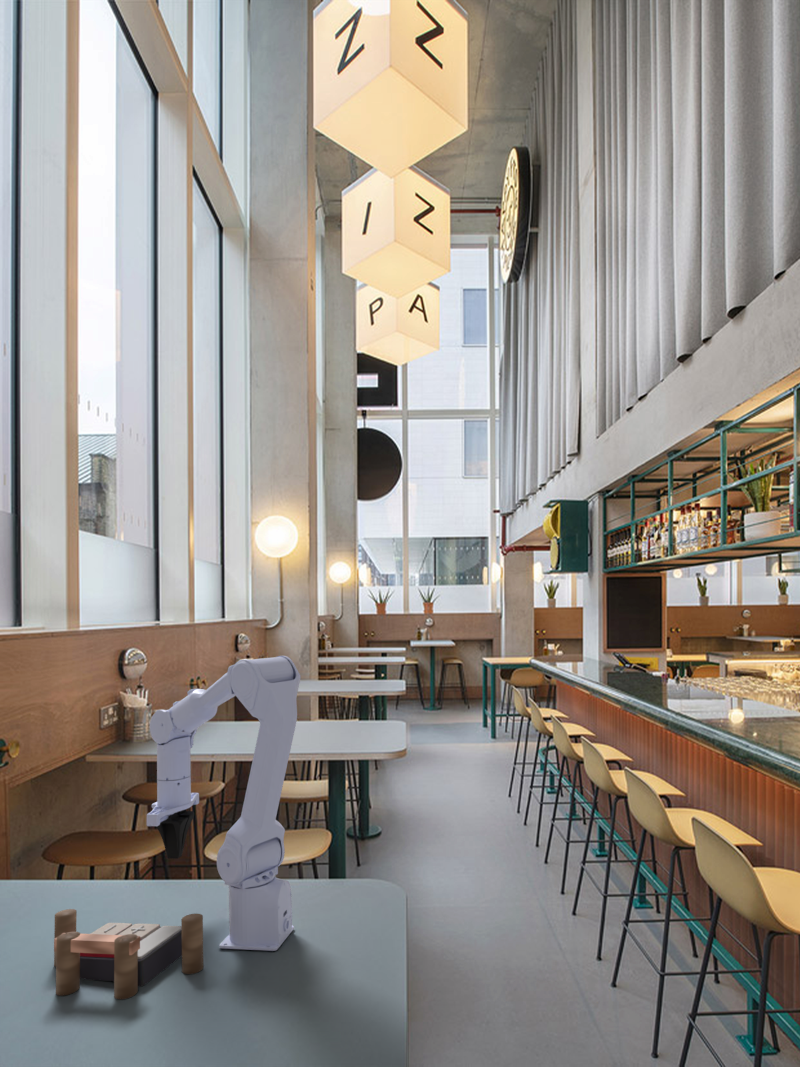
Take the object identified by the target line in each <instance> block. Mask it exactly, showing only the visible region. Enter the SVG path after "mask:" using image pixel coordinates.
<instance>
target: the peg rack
mask: <svg viewBox="0 0 800 1067" xmlns="http://www.w3.org/2000/svg"><path fill="white" fill-rule="evenodd" d="M77 916H78V914H77V909H75V908H69V909H63V910H60V911H57V912H56V913H55V914H54V933H53V934H54V937H53V939H54V940H53V959H54V960H53V966H54V967H55V995H56V996H61V997H64V996H68V995H72V994H74V993H76V992H77V991H79V990H80V985H81V982H80V981H81V979H80V953H96V954H114V981H113V992H114V993H113V998H114V999H115V1000H116V999H117V1000H127V999H130V998H132V997H134V996H135V995H137V993H138V992H139V986H138V950H139V949H140V936H137V935H135V934H127V935H103V934H91V933H81V932H79V931H77ZM180 921H181V926H182V956H181V972H182V973H183V974H184V975H193V974H194V975H195V974H197V973H199V972H201V971H203V969H204V922H203V921H204V916H203V914H201V913H189V914H187V915H184V916H183V917H182V918H181V920H180Z"/></svg>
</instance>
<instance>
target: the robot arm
mask: <svg viewBox="0 0 800 1067" xmlns="http://www.w3.org/2000/svg"><path fill="white" fill-rule="evenodd" d="M301 678H302V676H301V674H300V672H299V670H298V668H297V667H296V664H295V663H294V660H292V658H290V657H289V656H287V655H278V656H275V657H265V658H264V657H262V658H254V659H247V658H243V659H239V660H238V661H236V662H235V663H234V664H232V665H230V666H228V668H227V672H226V673H224V674H223V675H222V676H221V677H220V678H218V679H217V680H216V681H215V682H214V683H212V684H211V685H210V686H209V687H207V689H203V688H190V689H189V690H188V691H187V693H186V694H187V695H186V696H185V697H184V698H182V699H180V700H177V701H175V702H172V706H171V707H169V709H157V710H156V711H155V712H154V713H153V715H152V716H151V718H150V720H149V733H150V736H151V738H152V740H153V741H154V742H155V743H156V770H157V771H156V789H157V790H156V795H157V796H156V797H157V798H156V802H153V803H152V804H151V808H152V810H151V811H150V812H148V813H147V814H146V827H155V828H156V829H157V831H158V832H159V834H160V837H161V839H162V842H163V847H164V850H165V854H166V857H167V859H168V860H169V859H170V860H171V859H173V860H174V859H180V858H181V857H183V852H184V848H185V842H186V839H187V835H188V831H189V828H190V827H191V823H192V822H193V819H194V817H195V811H193V810H192V811H191V810H188V809H190V808H192V806H195V805H196V806H197V805H198V804H200V793H199V792H192V780H191V778H192V777H191V776H192V774H191V772H192V771H191V769H192V766H191V762H192V761H191V760H192V759H191V758H192V757H191V749H192V748H193V746H194V738H195V735H196V734H197V730H198V728H200V727H201V726H203V725H204V724H206V723H207V722H209V721H210V720H212V719H213V718H214V717H216V714H217V713H218V707H219V706H221V705H222V704H224V703H225V702H228V701H229V700H230V699H231V700H232V699H233V698H235V697H236V698H237V699H238V700H239V702H240V703H241V704H242V705H243V707H244V708H245V709H246V710H247V711H248V713H249V714H250V715H251V717H253V718H256V719H257V720H258V721H259V727H258V729H259V730H258V733H257V737H256V738H257V739H256V744H255V747H254V752H253V756H252V757H253V758H252V762H251V765H250V772H249V776H248V781H247V786H246V790H245V795H244V801H243V803H242V804H243V805H242V809H241V813H240V814H241V815H240V817H239V818H238V819H237V821H236V822H235V823H234V824H233V825H232V826H231V827H230V828H229V830H227V832H226V833H225V837H224V842H223V843H222V845H221V846H220V847H219V849H218V851H217V855H216V869H217V871H218V875H219V876H220V879H221V880H222V881H223V882H224V885H226V886H228V917H229V918H228V919H229V920H228V929H229V934H228V935H227V936H226V937H225V938H224V939H223V940H222V941H221V942H220V943H219V944H218V948H220V949H225V950H251V951H270V952H271V951H272V952H273V951H274V952H275V951H278V949H280V947H281V945H282V944H283V943H284V942H285V940H286V939H287V938H288V937H289V936H290V934H291V933H292V932H293V930H295V926H294V925H293V909H292V908H293V903H292V902H293V901H292V887H291V886H292V885H291V883H290V882H289V880H286V879H281V878H278V877H277V875H278V874H279V867H280V865H281V864H282V863H283V861H284V859H285V852H286V851H285V843H284V840H285V839H284V838H285V833H286V829H285V827H284V826H283V825H282V823H280V822H279V821H278V820H277V814H278V810H279V805H280V801H281V795H282V791H283V786H284V781H285V778H286V772H287V767H288V762H289V758H290V754H291V749H292V744H293V740H294V735H295V731H296V725H297V723H298V722H297V721H298V706H297V704H298V703H297V696H298V692H299V688H300V687H299V686H300V683H301Z"/></svg>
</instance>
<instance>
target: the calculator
mask: <svg viewBox="0 0 800 1067" xmlns="http://www.w3.org/2000/svg"><path fill="white" fill-rule="evenodd" d="M90 934H103V935H127V934H135V935H137V936H140V949H139V950H138V987H143V986H145V985H147V984H148V983H149V982H151V981H152V980H153V979H154V978H156V977H157V976H158V975H159V974H161V973H162V972H164V971H165V970H166V969H167V968H168V967H170V966H171V965H173V963H175V962H177V960H179V959H180V958H182V925H162V926H161V924H160V923H135V924H133V923H131V922H130V923H127V922H107V923H106V924H104V925H102V926H101V927H99V928H97V929H95V930H94V931H93V932H90ZM160 972H161V973H160ZM80 980H87V981H99V982H100V981H101V982H114V954H96V953H80Z"/></svg>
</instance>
